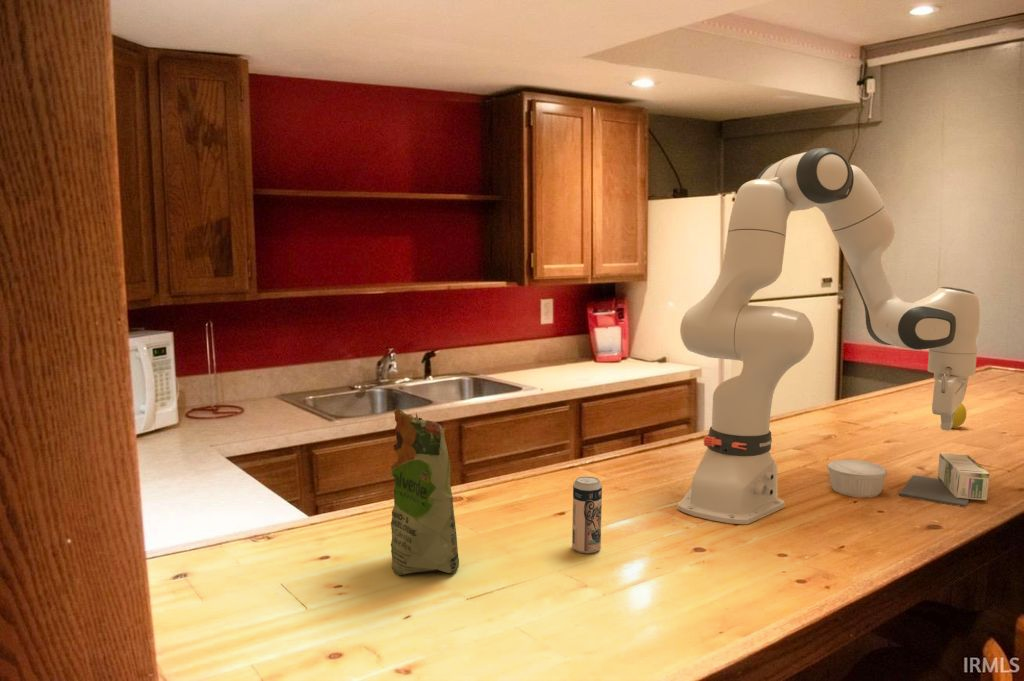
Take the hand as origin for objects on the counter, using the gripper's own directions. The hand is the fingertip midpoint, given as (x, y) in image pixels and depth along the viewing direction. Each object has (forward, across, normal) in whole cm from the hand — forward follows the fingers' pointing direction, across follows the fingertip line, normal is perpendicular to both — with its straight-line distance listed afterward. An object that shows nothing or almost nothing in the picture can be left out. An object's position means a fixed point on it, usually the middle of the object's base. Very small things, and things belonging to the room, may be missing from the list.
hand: (946, 429), depth 170 cm
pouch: (+12, -99, +60) cm, 116 cm away
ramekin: (+12, -16, +14) cm, 25 cm away
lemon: (+12, +60, +5) cm, 61 cm away
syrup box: (+9, +4, -1) cm, 10 cm away
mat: (+12, -6, 0) cm, 14 cm away
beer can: (+12, -77, +43) cm, 89 cm away
